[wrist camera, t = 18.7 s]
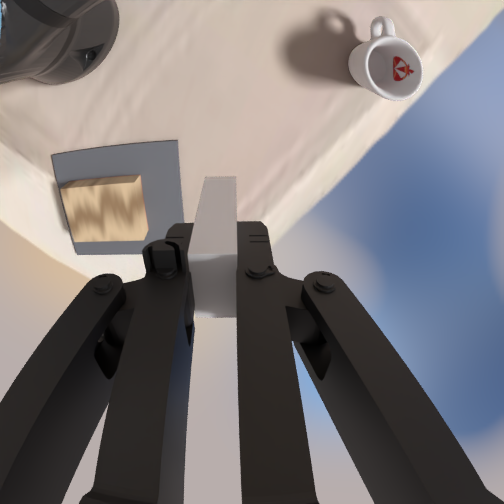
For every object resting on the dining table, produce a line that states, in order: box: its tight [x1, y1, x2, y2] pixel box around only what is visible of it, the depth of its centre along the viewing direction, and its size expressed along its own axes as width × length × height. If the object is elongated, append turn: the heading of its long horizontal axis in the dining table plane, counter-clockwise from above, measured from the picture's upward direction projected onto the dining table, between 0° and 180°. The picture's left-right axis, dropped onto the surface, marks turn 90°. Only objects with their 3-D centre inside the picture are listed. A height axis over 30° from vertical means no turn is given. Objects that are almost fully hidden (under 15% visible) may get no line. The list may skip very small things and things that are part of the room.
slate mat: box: [52, 140, 184, 255], centre depth 43 cm, size 18×20×1 cm
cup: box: [348, 16, 423, 101], centre depth 29 cm, size 11×8×8 cm
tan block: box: [60, 175, 149, 242], centre depth 41 cm, size 9×3×12 cm
